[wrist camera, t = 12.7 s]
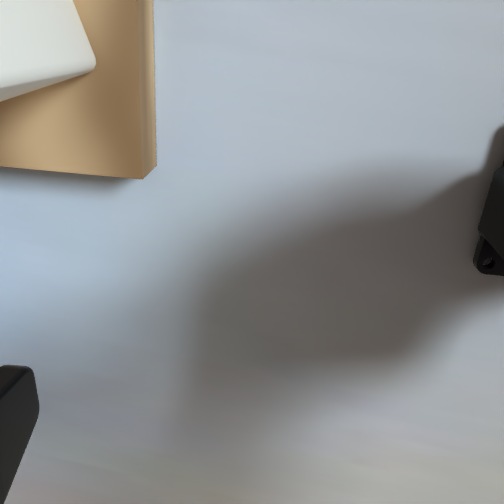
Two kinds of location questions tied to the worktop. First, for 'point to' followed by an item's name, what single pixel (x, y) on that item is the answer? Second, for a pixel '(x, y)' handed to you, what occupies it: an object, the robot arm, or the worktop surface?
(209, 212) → the worktop surface
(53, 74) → the medicine bottle
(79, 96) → the tan flat square slab
